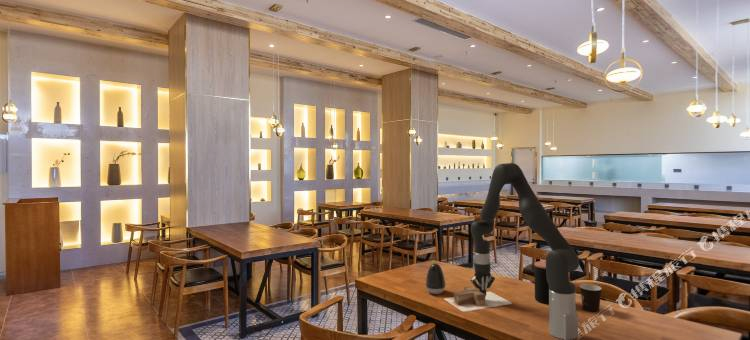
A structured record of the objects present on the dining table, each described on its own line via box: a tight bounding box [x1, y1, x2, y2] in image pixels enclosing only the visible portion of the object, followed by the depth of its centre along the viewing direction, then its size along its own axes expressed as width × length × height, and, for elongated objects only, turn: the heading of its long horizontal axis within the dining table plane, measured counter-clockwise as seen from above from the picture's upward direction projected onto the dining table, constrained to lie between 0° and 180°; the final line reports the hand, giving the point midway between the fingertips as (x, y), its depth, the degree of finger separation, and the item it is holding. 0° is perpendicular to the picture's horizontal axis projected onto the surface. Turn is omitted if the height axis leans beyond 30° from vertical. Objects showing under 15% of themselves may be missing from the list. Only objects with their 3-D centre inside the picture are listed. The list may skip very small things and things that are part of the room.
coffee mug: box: [579, 283, 603, 313], centre depth 176 cm, size 12×9×10 cm
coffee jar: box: [533, 260, 549, 306], centre depth 186 cm, size 11×11×18 cm
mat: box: [443, 291, 514, 313], centre depth 187 cm, size 18×27×1 cm, turn 109°
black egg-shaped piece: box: [425, 263, 446, 295], centre depth 201 cm, size 10×10×15 cm
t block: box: [453, 286, 485, 306], centre depth 186 cm, size 12×12×5 cm
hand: (483, 297), depth 189 cm, fingers closed
